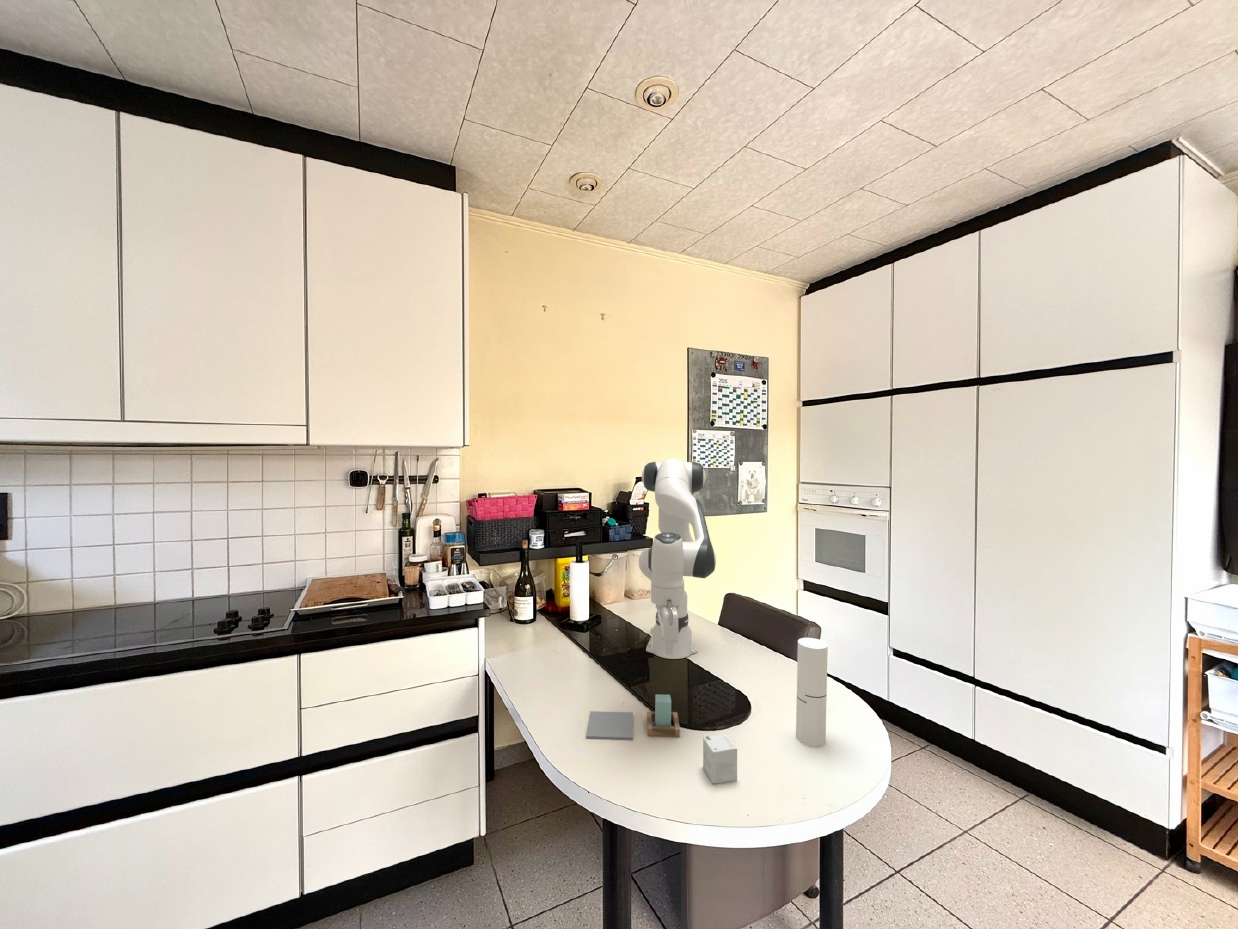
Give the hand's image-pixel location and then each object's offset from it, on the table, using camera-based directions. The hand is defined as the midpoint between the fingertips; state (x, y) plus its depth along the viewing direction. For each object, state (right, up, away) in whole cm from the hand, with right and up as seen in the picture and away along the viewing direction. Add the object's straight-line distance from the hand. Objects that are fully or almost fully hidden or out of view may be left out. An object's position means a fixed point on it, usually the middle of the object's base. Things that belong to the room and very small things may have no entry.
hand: (667, 646), depth 129 cm
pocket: (-1, -22, +1) cm, 22 cm away
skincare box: (+10, -23, -18) cm, 31 cm away
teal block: (-1, -22, +1) cm, 22 cm away
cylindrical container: (+37, -23, -4) cm, 43 cm away
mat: (-15, -22, +1) cm, 26 cm away
